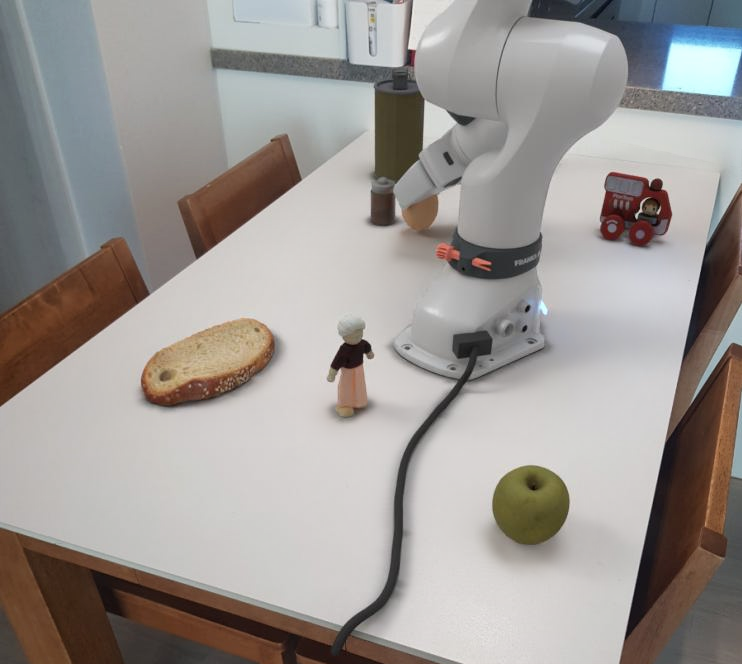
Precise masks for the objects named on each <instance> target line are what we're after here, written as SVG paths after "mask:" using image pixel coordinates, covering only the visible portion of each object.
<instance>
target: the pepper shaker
mask: <svg viewBox="0 0 742 664" xmlns="http://www.w3.org/2000/svg"><path fill="white" fill-rule="evenodd" d="M395 185H396V184H395V182H394V181H392V180H389V179H387V178H386V177H381V178H379V179H375V180H373V181H372V182H371V189H370V223H371V224H373V225H375V226H381V227H384V226H385V227H386V226H391V225H393V224H394V223H395V222H396V201H397V199H396V197H395V195H394V193H393V190H394V187H395Z"/></svg>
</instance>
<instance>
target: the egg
mask: <svg viewBox="0 0 742 664" xmlns="http://www.w3.org/2000/svg"><path fill="white" fill-rule="evenodd" d="M400 210H401V216H402V218H403V220H404V222H405V224H406V225H407V226H408V227H409V228H411V229H412V230H415V231H424V230H426V229H428V228H429V227H431V226H432V224H433V223H434V222H435V220H436V218H437V217H438V212H439V195H437V194H435V195H433V196H431V197H429V198H427V199H424V200H422V201H420V202H418V203H416V204H413V205H412V206H411V207H410V208H408V209H406V210H402V209H401V208H400Z"/></svg>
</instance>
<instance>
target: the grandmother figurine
mask: <svg viewBox="0 0 742 664" xmlns="http://www.w3.org/2000/svg"><path fill="white" fill-rule="evenodd" d="M336 326H337V330H338V331H337V333H338V335H339V336H340V337H341V339H342V341H343V343H342V344H341V345H340V346H339V348H338V350H337V352H336V353H335V355H334V357H333V359H332V361H331V363H330V366H329V370H328V374H327V376H326V381H327V382H328V383H334V382H335V381H336V377H337V375H338V373H339V371H340V375H339V379H338V384H337V401H336V403H337V405H336V406H335V411H336V412H337V414H338V415H339V416H340V417H341V418H350V417H352V416H354V414H355V410H354V408H355V409H357V410H361V409H364V408H366V407H367V406H368V392H367V384H366V383H367V382H366V379H365V378H366V376H365V371H364V355H365V357H366V359H367V360H373V359H374V358H375V353H374V351H373V349H372V344H371V342H369V341H368V340H366V339H364V330H365V329H366V322H365V320H364V319H363V318H362V317H360V316H358V315H355V314H354V315H353V314H347V315H345V316H343V318H341V319H339V321H338V324H337V325H336Z"/></svg>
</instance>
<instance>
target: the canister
mask: <svg viewBox="0 0 742 664" xmlns="http://www.w3.org/2000/svg"><path fill="white" fill-rule="evenodd" d="M391 73H392V75H391V78H385V79H381V80H378V81H376V82H374V84H373V89H374V171H373V177H374V178H375V180H377V179H379V178H381V177H386V178H387V179H389V180H392V181H394V182H395V185H396V184H397V183H398V181H399V180H400V179H401V178H402V177H403V175H404V174H405V173H406V172H407V171H408V170H409V169H410V167H411V166H412V165H413V164H415V163H416V162H417V161H418V160H420V158H419V154H420V152H421V151H422V150H423V149H424V131H425V130H424V129H425V128H424V127H425V101H426V100H425V99H424V98H423V96H422V94H421V92H420V90H419V88H418V85H417V82H416V79H413V78H412V77H411V76H412V75H411V73H409V67H392V70H391Z"/></svg>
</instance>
